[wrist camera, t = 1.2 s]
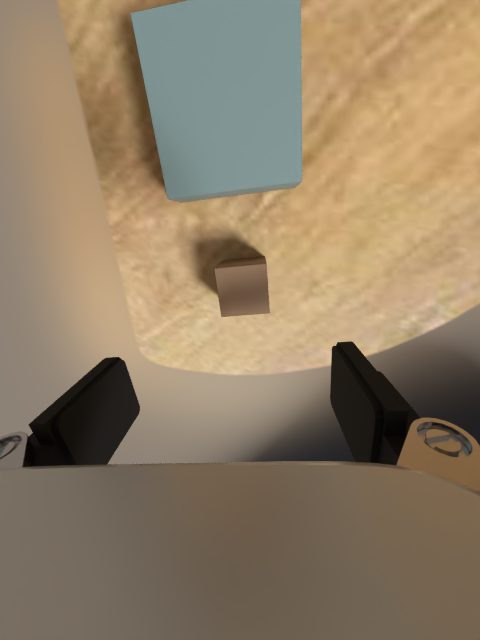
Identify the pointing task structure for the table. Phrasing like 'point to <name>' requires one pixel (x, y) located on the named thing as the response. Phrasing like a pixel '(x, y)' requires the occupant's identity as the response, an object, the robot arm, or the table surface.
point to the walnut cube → (242, 286)
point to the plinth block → (224, 94)
